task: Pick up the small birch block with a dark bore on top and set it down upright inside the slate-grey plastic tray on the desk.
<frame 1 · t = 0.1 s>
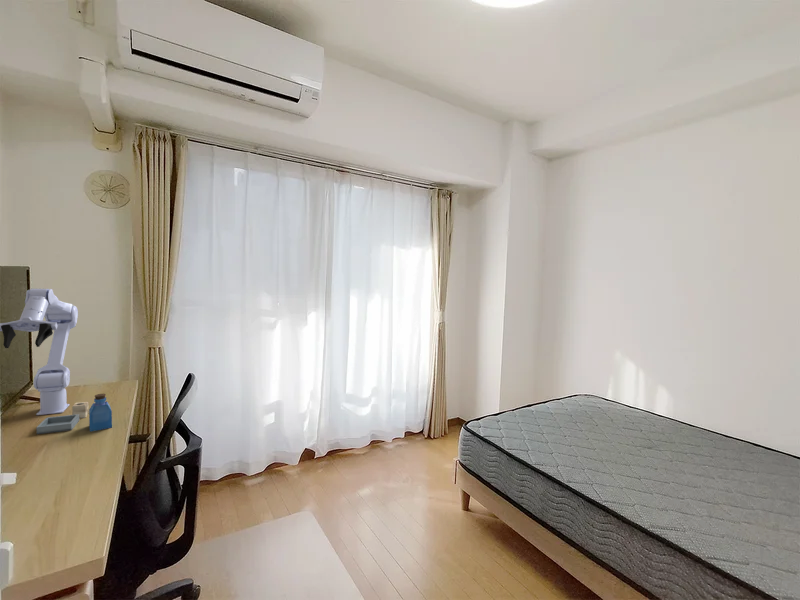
hand: (21, 345, 125), 32 cm above the table, tool tilted 50°, fingers open, 7 cm apart
bored block: (80, 416, 147), on the table
tray: (58, 427, 137), on the table
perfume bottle: (100, 427, 139), on the table
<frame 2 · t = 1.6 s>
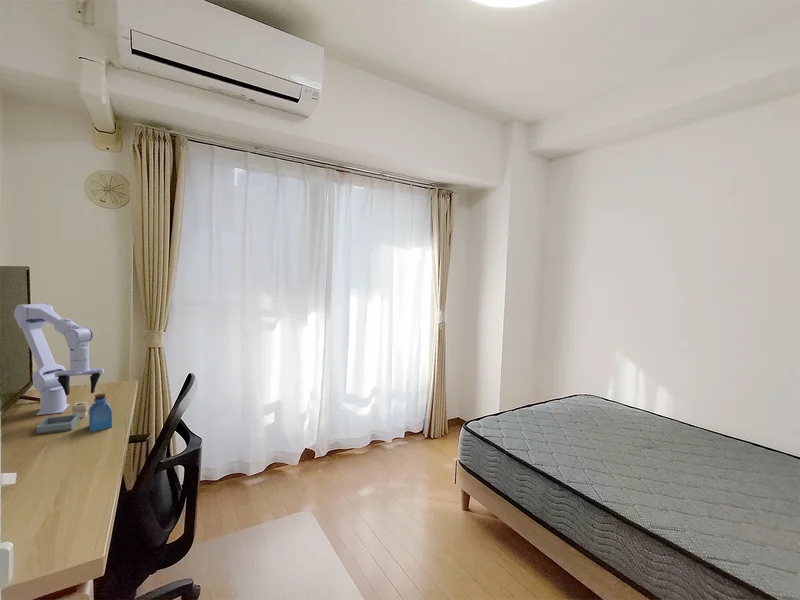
hand: (80, 393, 147), 9 cm above the table, tool pointing down, fingers open, 7 cm apart
nothing on the table moved.
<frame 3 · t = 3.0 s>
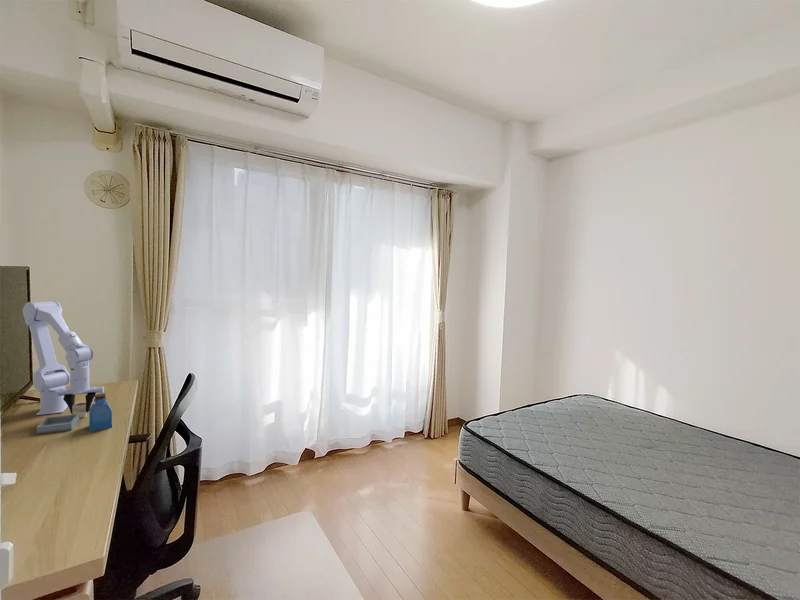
hand: (80, 412, 147), 2 cm above the table, tool pointing down, fingers closed on bored block, 4 cm apart
bored block: (80, 416, 147), on the table, touching gripper
everything else where it was.
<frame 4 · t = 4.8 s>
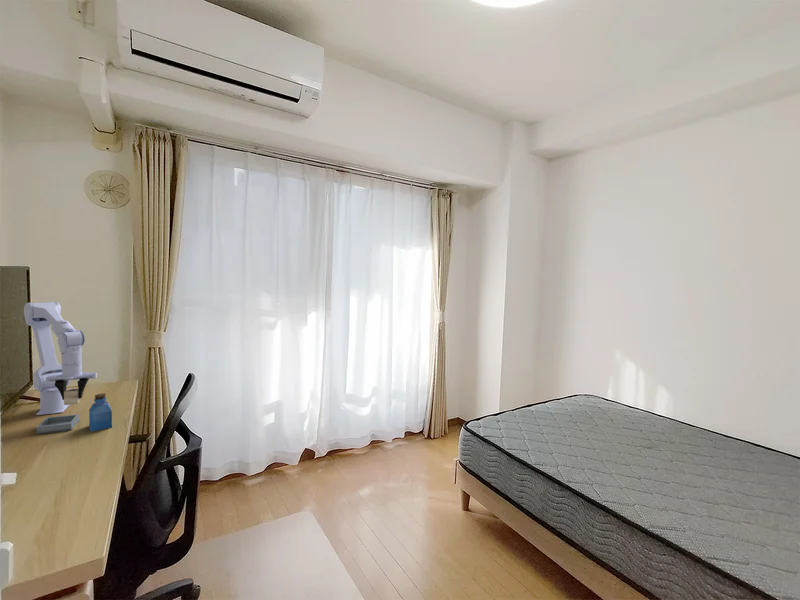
hand: (72, 398, 143), 8 cm above the table, tool pointing down, fingers closed on bored block, 4 cm apart
bored block: (72, 402, 143), point 7 cm above the table, touching gripper
everything else where it was.
when the fingers open (4 cm above the table, at t = 6.8 s): bored block drops 1 cm, resting on tray.
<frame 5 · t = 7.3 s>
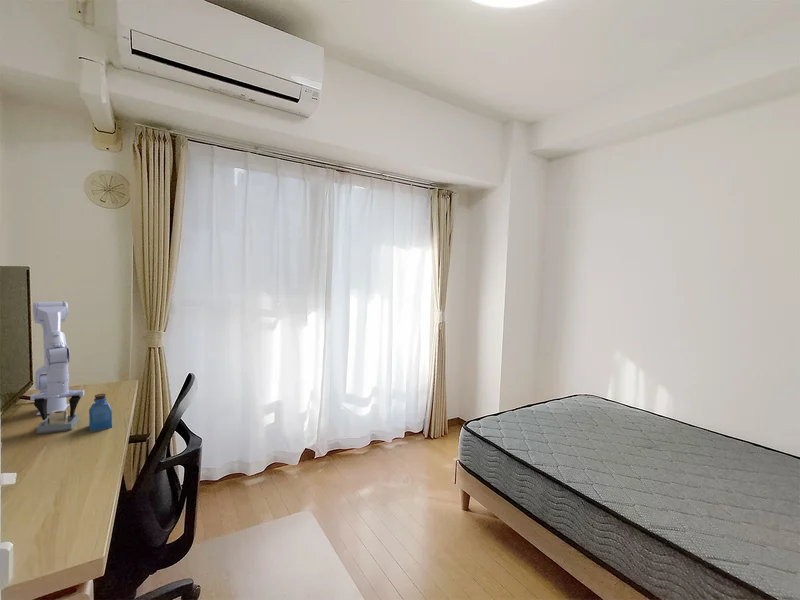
hand: (58, 417, 137), 4 cm above the table, tool pointing down, fingers open, 7 cm apart
bored block: (58, 425, 137), point 1 cm above the table, touching tray
everything else where it was.
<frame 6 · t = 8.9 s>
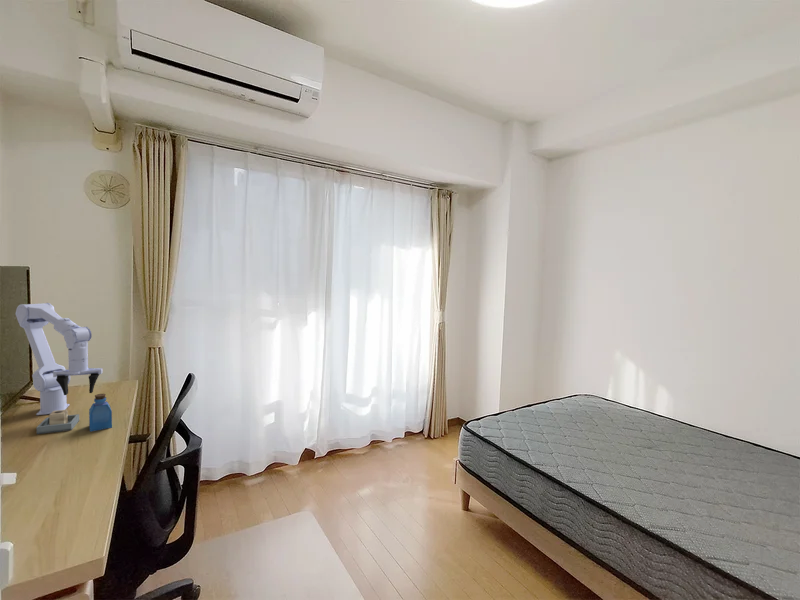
hand: (78, 393, 146), 9 cm above the table, tool pointing down, fingers open, 7 cm apart
nothing on the table moved.
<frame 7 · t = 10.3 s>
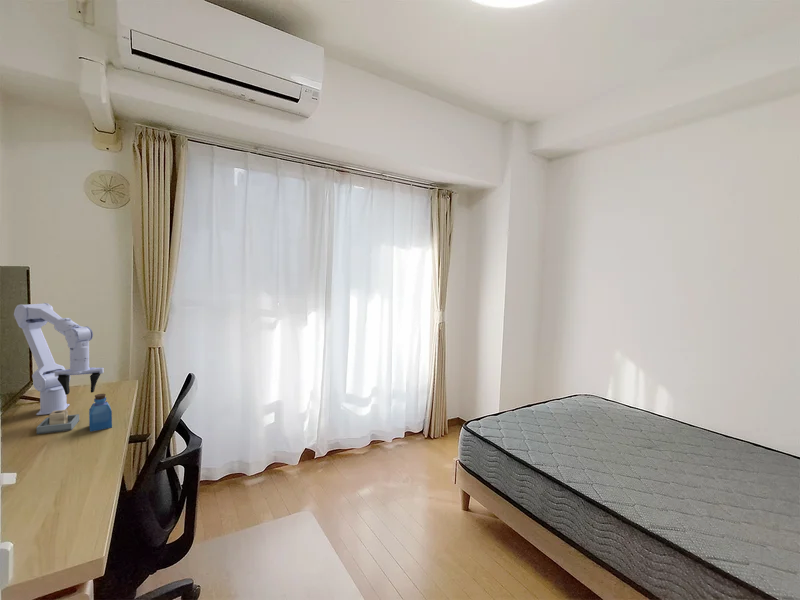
hand: (80, 392, 147), 9 cm above the table, tool pointing down, fingers open, 7 cm apart
nothing on the table moved.
at the end: bored block 0.1 cm off-centre on the tray, point 0.6 cm above the tray's base; bored block tilted 0°; the gripper is holding nothing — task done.
